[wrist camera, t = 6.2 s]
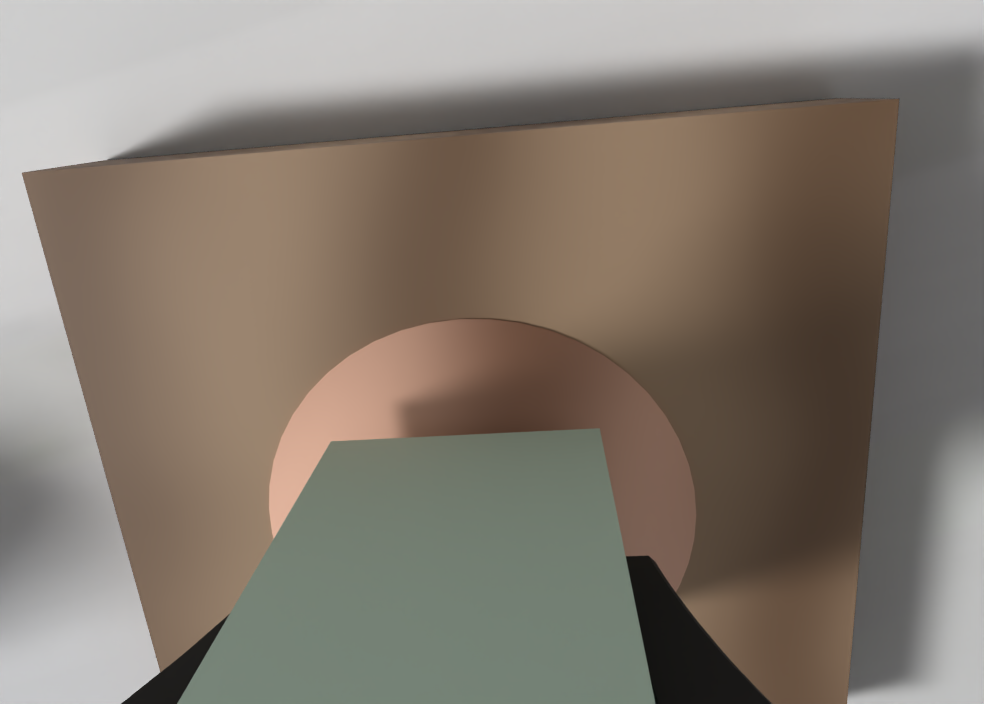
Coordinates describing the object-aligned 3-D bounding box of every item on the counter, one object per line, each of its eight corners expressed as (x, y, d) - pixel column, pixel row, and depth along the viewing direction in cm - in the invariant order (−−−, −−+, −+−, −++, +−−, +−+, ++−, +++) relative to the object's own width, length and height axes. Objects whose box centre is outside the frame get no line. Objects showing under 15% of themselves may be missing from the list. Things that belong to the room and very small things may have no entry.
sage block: (599, 428, 12) (656, 714, 7) (607, 652, 14) (659, 1045, 8) (330, 441, 13) (164, 724, 7) (365, 658, 14) (252, 1040, 8)
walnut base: (835, 98, 14) (901, 98, 11) (799, 705, 18) (839, 798, 16) (103, 160, 15) (20, 173, 12) (239, 720, 19) (197, 809, 17)
